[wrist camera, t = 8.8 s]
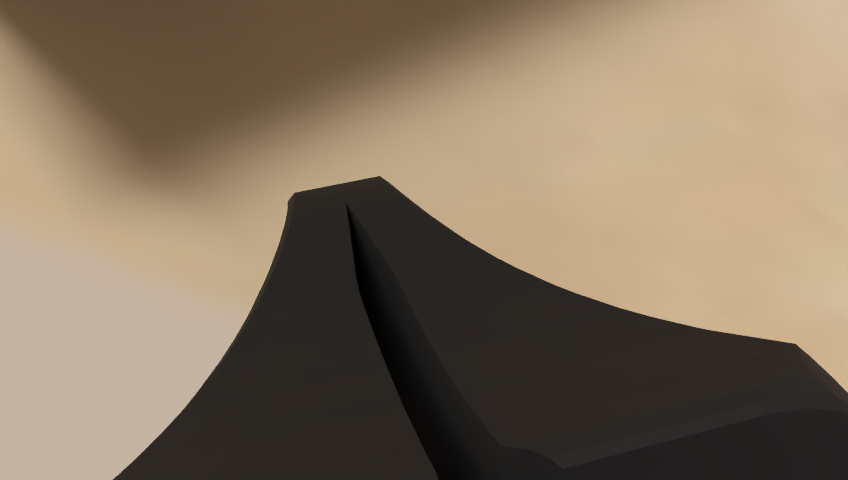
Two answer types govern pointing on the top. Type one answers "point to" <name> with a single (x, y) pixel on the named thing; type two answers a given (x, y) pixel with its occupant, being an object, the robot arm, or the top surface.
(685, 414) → the robot arm
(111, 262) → the top surface
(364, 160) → the top surface
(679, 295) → the top surface
